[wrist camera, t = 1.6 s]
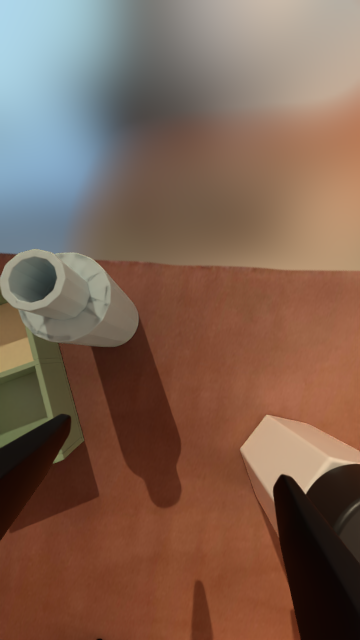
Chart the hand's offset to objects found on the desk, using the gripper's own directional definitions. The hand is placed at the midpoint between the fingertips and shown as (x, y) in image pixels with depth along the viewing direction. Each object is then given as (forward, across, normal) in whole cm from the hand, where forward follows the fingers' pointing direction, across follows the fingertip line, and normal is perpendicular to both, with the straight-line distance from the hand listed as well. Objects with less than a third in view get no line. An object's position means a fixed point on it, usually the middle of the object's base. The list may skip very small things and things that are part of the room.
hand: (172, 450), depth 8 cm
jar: (+10, -12, +10) cm, 19 cm away
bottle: (+15, +9, +2) cm, 17 cm away
